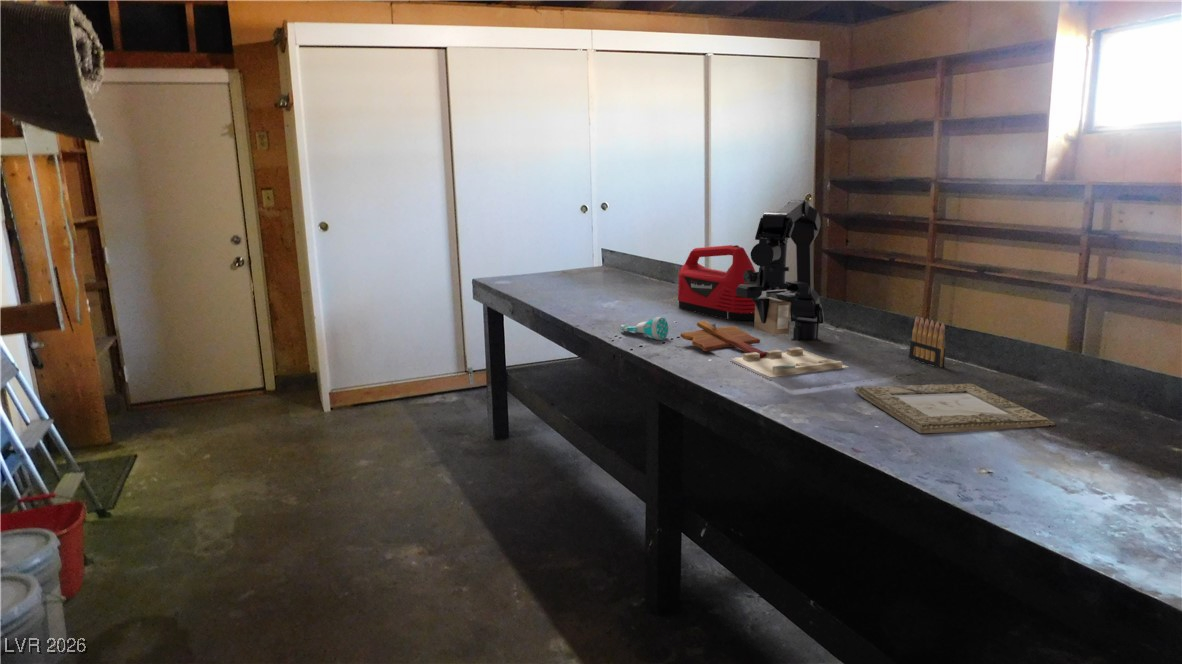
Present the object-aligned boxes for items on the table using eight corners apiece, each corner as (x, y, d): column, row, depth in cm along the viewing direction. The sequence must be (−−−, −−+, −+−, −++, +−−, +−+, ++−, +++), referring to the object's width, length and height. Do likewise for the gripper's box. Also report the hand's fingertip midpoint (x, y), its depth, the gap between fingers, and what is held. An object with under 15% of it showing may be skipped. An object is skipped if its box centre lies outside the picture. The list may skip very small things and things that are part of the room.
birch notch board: (804, 353, 208) (804, 342, 207) (849, 370, 190) (849, 359, 189) (730, 362, 199) (730, 351, 199) (770, 381, 182) (770, 369, 181)
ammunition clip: (908, 358, 201) (912, 315, 199) (913, 357, 202) (917, 315, 199) (938, 368, 192) (943, 323, 189) (944, 367, 192) (948, 322, 190)
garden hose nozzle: (621, 315, 245) (608, 321, 226) (673, 312, 241) (665, 317, 222) (623, 336, 246) (610, 344, 226) (674, 333, 242) (666, 341, 222)
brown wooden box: (768, 326, 195) (770, 297, 193) (789, 333, 186) (791, 302, 185) (754, 328, 193) (755, 298, 192) (774, 335, 185) (776, 303, 183)
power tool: (698, 301, 288) (699, 237, 282) (774, 318, 255) (777, 246, 249) (667, 306, 279) (667, 240, 274) (741, 324, 247) (743, 249, 241)
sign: (789, 363, 205) (725, 330, 230) (791, 342, 203) (727, 311, 228) (732, 373, 197) (673, 337, 222) (734, 351, 195) (674, 318, 220)
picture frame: (1055, 429, 150) (1057, 417, 150) (920, 436, 146) (921, 423, 145) (970, 390, 176) (972, 380, 175) (853, 395, 171) (854, 384, 171)
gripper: (786, 257, 197) (783, 314, 200) (725, 260, 190) (723, 319, 194) (812, 262, 187) (808, 322, 190) (749, 265, 180) (747, 327, 184)
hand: (771, 322), depth 190 cm, fingers closed on brown wooden box, 4 cm apart
